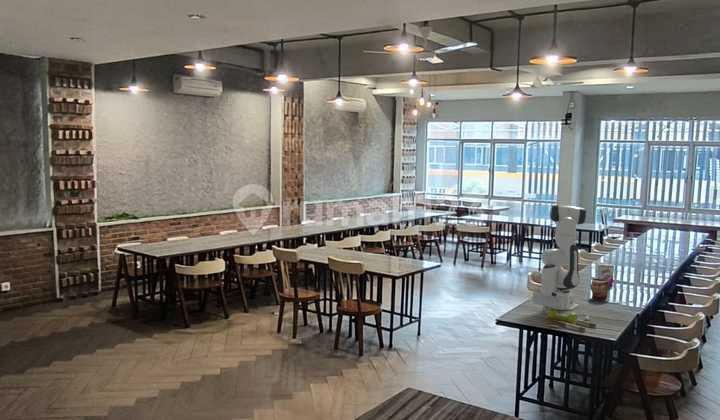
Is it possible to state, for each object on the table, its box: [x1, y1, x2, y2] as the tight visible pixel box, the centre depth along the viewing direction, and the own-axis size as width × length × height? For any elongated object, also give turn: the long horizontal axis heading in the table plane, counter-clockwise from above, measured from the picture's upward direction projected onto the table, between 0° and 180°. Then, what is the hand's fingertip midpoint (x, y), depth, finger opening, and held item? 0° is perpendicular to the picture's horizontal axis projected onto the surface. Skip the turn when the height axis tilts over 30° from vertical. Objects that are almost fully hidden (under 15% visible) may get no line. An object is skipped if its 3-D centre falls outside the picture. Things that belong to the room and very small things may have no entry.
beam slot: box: [542, 317, 597, 333], centre depth 342 cm, size 14×26×2 cm, turn 41°
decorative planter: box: [590, 278, 610, 302], centre depth 404 cm, size 20×12×14 cm, turn 150°
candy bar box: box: [596, 263, 615, 287], centre depth 446 cm, size 11×5×16 cm, turn 72°
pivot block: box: [582, 315, 591, 322], centre depth 344 cm, size 3×3×4 cm
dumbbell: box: [547, 309, 579, 325], centre depth 345 cm, size 16×8×7 cm, turn 48°
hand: (547, 313), depth 352 cm, fingers closed
